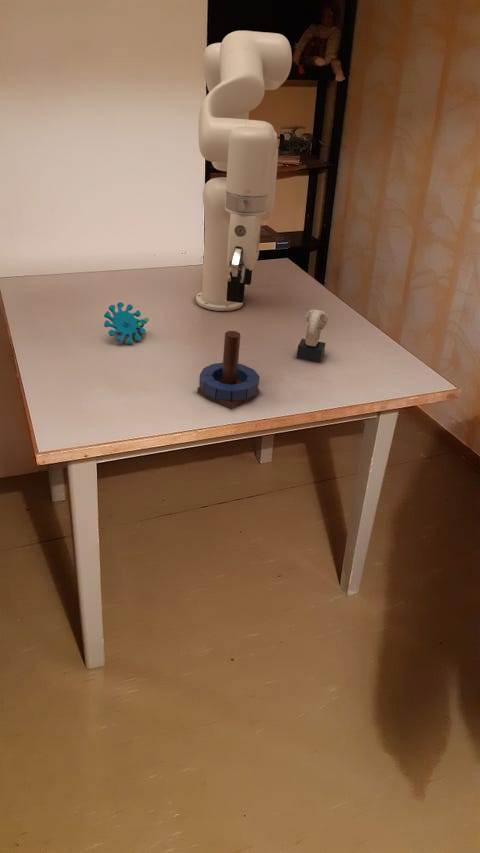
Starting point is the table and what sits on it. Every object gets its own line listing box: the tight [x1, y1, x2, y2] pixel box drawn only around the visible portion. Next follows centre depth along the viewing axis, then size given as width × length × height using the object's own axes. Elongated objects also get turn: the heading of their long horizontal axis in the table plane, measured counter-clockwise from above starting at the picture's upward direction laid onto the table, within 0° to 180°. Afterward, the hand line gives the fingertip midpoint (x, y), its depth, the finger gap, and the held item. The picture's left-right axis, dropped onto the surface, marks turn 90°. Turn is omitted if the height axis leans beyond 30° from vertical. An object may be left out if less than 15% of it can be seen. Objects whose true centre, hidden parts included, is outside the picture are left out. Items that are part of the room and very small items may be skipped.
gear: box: [103, 301, 150, 345], centre depth 154 cm, size 11×6×10 cm
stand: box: [196, 330, 261, 410], centre depth 132 cm, size 9×9×13 cm
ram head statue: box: [296, 309, 329, 364], centre depth 150 cm, size 6×8×11 cm
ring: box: [198, 362, 260, 401], centre depth 135 cm, size 12×12×2 cm
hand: (239, 292), depth 129 cm, fingers open, 9 cm apart
